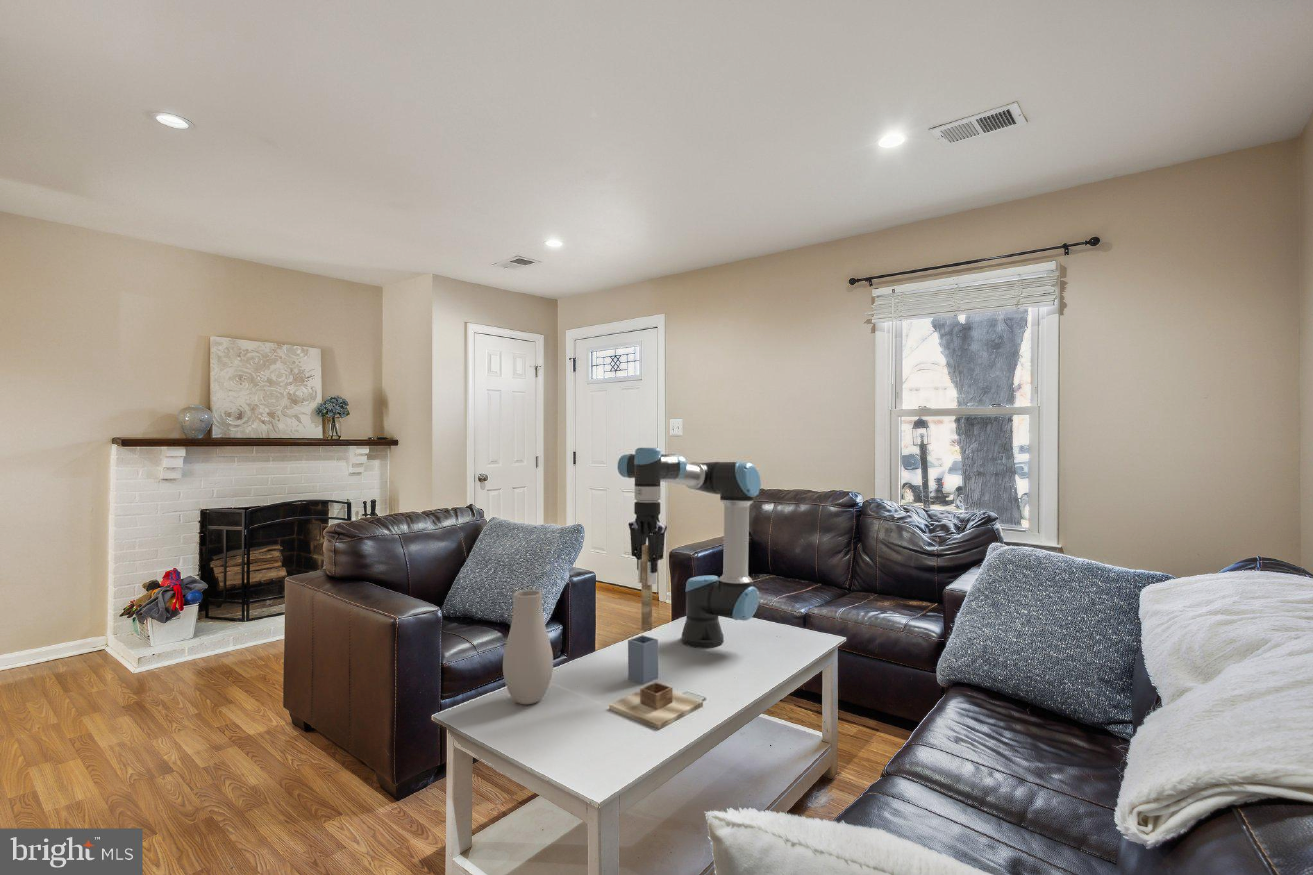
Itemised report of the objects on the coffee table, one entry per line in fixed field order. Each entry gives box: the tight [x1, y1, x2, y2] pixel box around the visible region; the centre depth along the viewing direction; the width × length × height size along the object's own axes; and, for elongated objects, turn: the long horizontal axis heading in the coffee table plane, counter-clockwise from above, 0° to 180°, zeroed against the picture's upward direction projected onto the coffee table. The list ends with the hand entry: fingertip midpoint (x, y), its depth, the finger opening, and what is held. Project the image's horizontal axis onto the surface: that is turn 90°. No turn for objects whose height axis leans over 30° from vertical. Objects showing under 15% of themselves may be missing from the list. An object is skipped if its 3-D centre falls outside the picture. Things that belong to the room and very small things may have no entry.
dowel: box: [640, 544, 653, 632], centre depth 175 cm, size 3×3×24 cm
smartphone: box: [681, 691, 707, 702], centre depth 167 cm, size 7×1×15 cm
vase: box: [502, 589, 554, 705], centre depth 170 cm, size 14×14×30 cm
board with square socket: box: [608, 681, 704, 730], centre depth 165 cm, size 18×18×5 cm
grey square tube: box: [627, 634, 659, 685], centre depth 185 cm, size 6×6×12 cm
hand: (646, 582), depth 175 cm, fingers closed on dowel, 3 cm apart
